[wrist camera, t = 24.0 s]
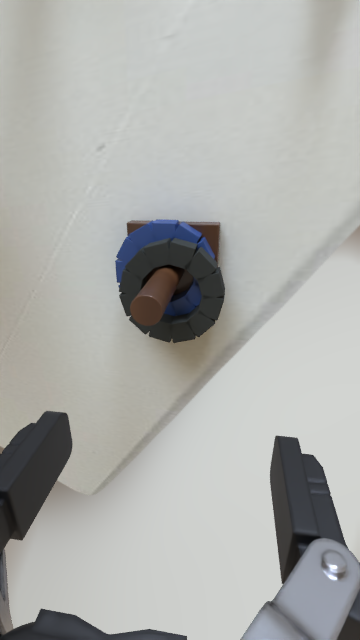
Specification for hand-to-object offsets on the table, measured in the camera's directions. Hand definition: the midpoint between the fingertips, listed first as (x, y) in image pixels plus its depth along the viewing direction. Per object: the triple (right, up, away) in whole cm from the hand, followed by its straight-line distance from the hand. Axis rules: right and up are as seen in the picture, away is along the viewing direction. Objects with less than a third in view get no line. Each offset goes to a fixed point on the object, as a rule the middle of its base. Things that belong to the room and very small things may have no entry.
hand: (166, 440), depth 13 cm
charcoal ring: (0, +8, +20) cm, 21 cm away
